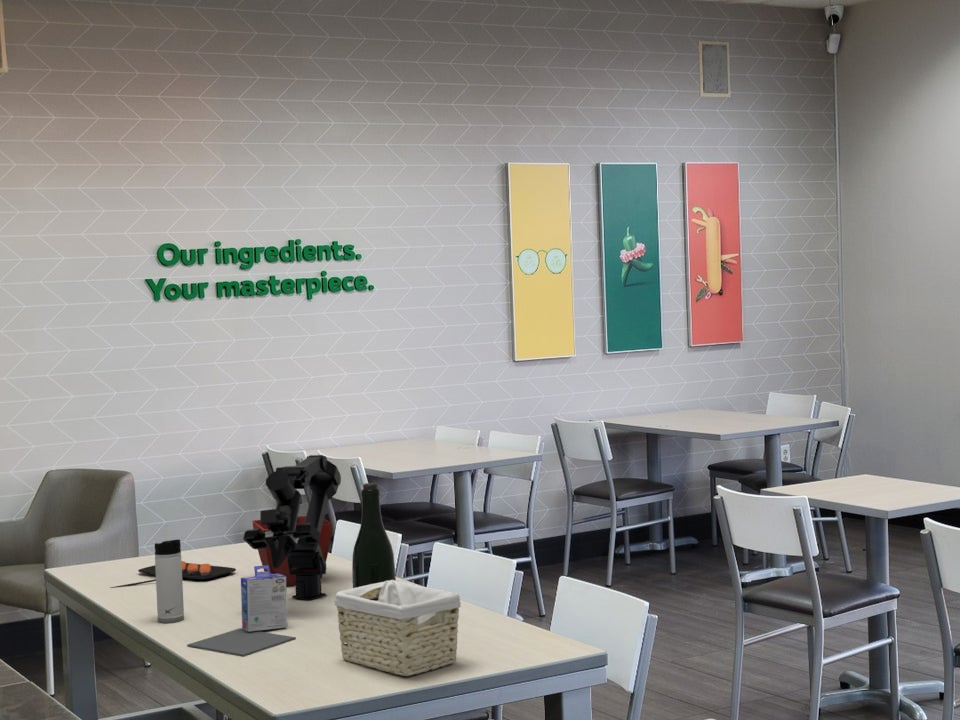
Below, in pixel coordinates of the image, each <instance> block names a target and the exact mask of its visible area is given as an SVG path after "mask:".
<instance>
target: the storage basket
mask: <svg viewBox="0 0 960 720" xmlns="http://www.w3.org/2000/svg"><path fill="white" fill-rule="evenodd" d="M374 598H378V600H377V601H374V600H369V599H374ZM461 603H462V602H461V598H460V595H459V593H457V592H451V591H447V590H442V589H438V588H432V587H428V586H427V587H426V586H423V585H422V586H421V585H416V584H412V583H408V582H404V581H399V580H396V581H395V580H390V581H389V580H388V581H385V582H380V583H375V584H370V585H366V586H361V587H357V588H353V587H352V588H349V589H344V590H339V591H338V592H337V593H336V595H335V600H334V606H336V609H337V617H338V619H337V620H338V631H339V634H340V635H339V639H340V642H341V643H340V644H341V645H340V648H341V653H342V655H341V656H342V659H343V660H345V661H348V662H350V663H355V664H357V665H362V666H364V667H368V668H372V669H373V668H374V669H376V670H379V671H382V672H387V673H391V674H395V675H399V676H403V677H410V676H414V675H420V674H421V673H426V672H428V671H431V670H432V671H434V670H437V669H440V668H442V667H443V668H444V667H446V666H448V665H452V664H454V663H455V662H456V660H457V649H458V633H459V630H458V627H459V625H458V622H459V617H460V615H459V612H460V609H459V608H461V606H462V605H461Z"/></svg>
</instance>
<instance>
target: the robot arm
mask: <svg viewBox="0 0 960 720" xmlns="http://www.w3.org/2000/svg"><path fill="white" fill-rule="evenodd" d="M341 475H342V474H341V473H340V470H339V468H338V467H337V465H336V464H333V463H332V462H331V461H330V460H328V458H327V457H326V455H323V454H322V455H321V454H317V455H316V454H315V455H314V454H310V455H308V456H306V458H305V459H303V460H301V461H300V462H299V463H297V464H296V465H289V466H288V465H287V466H286V465H285V466H281V467H280V466H279V467H276V468H275V471H273V472H271V473H270V474H269V475H268V476H267V478H266V479H265V485H266V487H267V489H268V490H269V493H270V494H271V495H272V498H273V499H274V500H276V501H277V502H276V506H275V508H273V509H264V510H260V513H259V515H260V517H259V520H260V524H265V525H267V527H266V528H267V529H268V530H271V531H269V532H265V534H264V533H263V532H262V531H261V530H260V529H253V528H252V529H247V530H245V531H244V533H243V536H242V540H243V541H244V542H245V543H246V544H247V545H249V547H251V548H252V549H253V550H258V549H265V548H266V547H267V546H269V548H270V551H271V556H272V562H273V567H274V568H278V567H279V566H280V565H281V564H282V562H283V561H284V560H285V559H286V557H287V556H288V566H289V572H290V575H296V581H295V585H294V586H295V587H294V590H295V594H294V595H291V597H292V599H298V600H306V601H312V600H315V599H319V598H321V597H322V598H323V597H325V596H327V593H325V592H322V578H321V575H322V576H323V575H326V574H327V561H326V562H325V560H324V558H323V555H322V552H321V549H320V547H319V544H318V543H319V541H320V533H321V529H322V525H323V521H324V519H325V517H326V512H327V507H328V503H329V500H330V499H332V498H333V497H334V496H335V495H336V494H337V493H338V490H339V486H340V485H341V480H342V476H341ZM308 486H309V490H310V492H311V496H310V500H309V504H308V507H307V508H308V509H307V511H306V515H305V516H306V519H305V523H304V524H298V525H297V526H296V523H299V522H300V519H299V518H298V517H299V516H298V515H299V511H300V506H301V504H303V499H302V494H301V493H300V491H299V490H305V489H306V488H308ZM295 527H296V529H295Z"/></svg>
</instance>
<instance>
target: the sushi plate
mask: <svg viewBox="0 0 960 720" xmlns="http://www.w3.org/2000/svg"><path fill="white" fill-rule="evenodd" d="M181 561H182V579H187V578H188V579H189V580H196V579H198V580H199V581H201V580H204V579H206V580H212V579H215V578H219V577H222V576H225V575H227V574H230V573H234V572H235V571H237V569H236V568H235V567H228V566H220V565H219V566H218V565H211V564H209V563H201V564H200V563H192V562H191V563H190V562H186V561H184V560H181ZM138 572H139V573H143V574H148V575H152V576H154V577H156V570H155V564H154V565H151V566H150V565H149V566H147V567H142V568H140V569H138ZM218 576H219V577H218ZM188 579H187V580H188ZM204 581H205V580H204ZM153 582H156V578H155V579H151V580H145V581H138V582H132V583H127V584H122V585H116V586H111V587H109V588H110V589H115V588H123V587H124V588H125V587H132V586H137V585H142V584H147V583H153Z"/></svg>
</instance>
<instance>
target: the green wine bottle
mask: <svg viewBox="0 0 960 720" xmlns="http://www.w3.org/2000/svg"><path fill="white" fill-rule="evenodd" d="M362 487H363V488H362V489H361V493H360V496H361V520H360V521H361V522H360V528H359V531H358V534H357V536H356V540H355V543H354V546H353V551H352V565H351V567H352V570H351V571H352V573H351V574H352V589H353V588H357V587H361V586H366V585H370V584H375V583H380V582H385V581H388V580H389V581H390V580H395V581H397V580H396V579H397V578H396V565H395V564H396V563H395V556H394V555H395V554H394V550H393V545H392V543H391V540H390V538H389V536H388V534H387V531H386V529H385V525H384V523H383V518H382V514H381V513H382V512H381V502H380V501H381V500H380V499H381V498H380V496H381V492H380V488H378V483H376V482H368V483H363V485H362ZM369 600H374V601H377V600H378V598H374V599H369Z"/></svg>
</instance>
